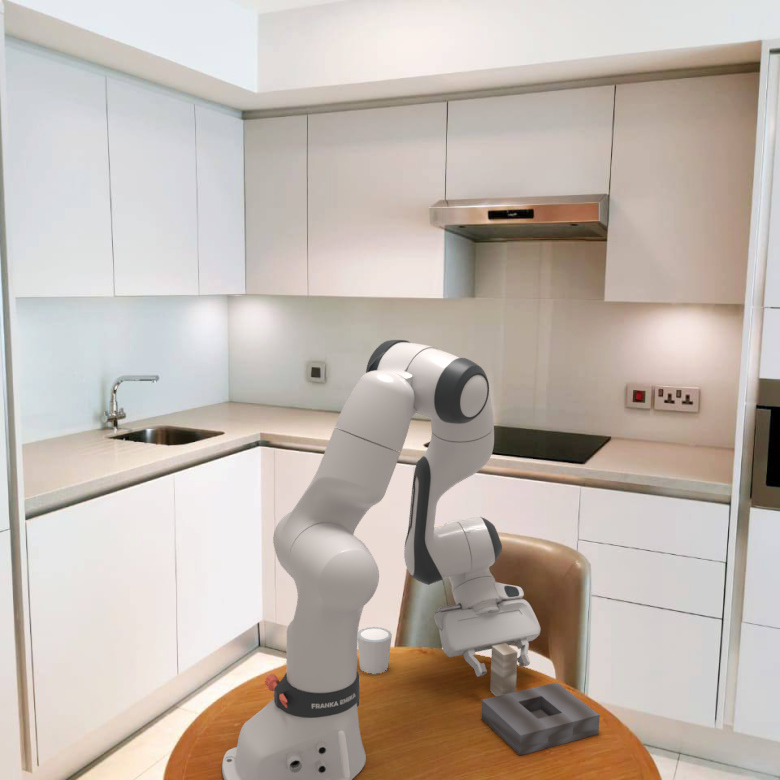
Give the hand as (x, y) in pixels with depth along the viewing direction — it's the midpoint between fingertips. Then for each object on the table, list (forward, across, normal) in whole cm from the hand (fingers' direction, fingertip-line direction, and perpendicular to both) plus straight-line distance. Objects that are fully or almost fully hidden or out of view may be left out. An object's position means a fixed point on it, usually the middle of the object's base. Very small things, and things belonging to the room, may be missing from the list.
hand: (504, 670), depth 145 cm
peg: (+3, 0, +4) cm, 5 cm away
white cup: (-10, -18, +17) cm, 27 cm away
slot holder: (+12, 0, -5) cm, 12 cm away
